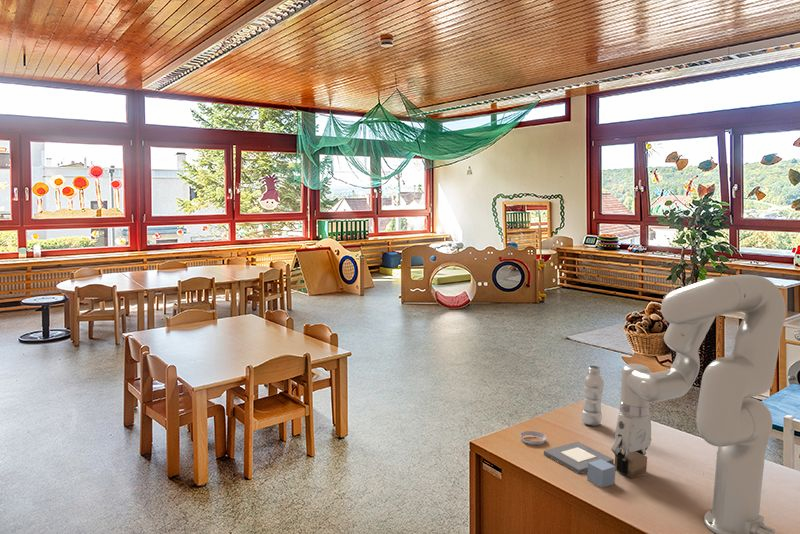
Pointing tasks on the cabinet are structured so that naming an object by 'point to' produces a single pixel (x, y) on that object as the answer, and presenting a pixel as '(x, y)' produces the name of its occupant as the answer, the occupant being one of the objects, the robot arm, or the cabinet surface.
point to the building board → (576, 456)
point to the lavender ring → (533, 435)
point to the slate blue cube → (601, 473)
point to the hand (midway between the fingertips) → (630, 469)
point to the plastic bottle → (592, 397)
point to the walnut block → (634, 464)
